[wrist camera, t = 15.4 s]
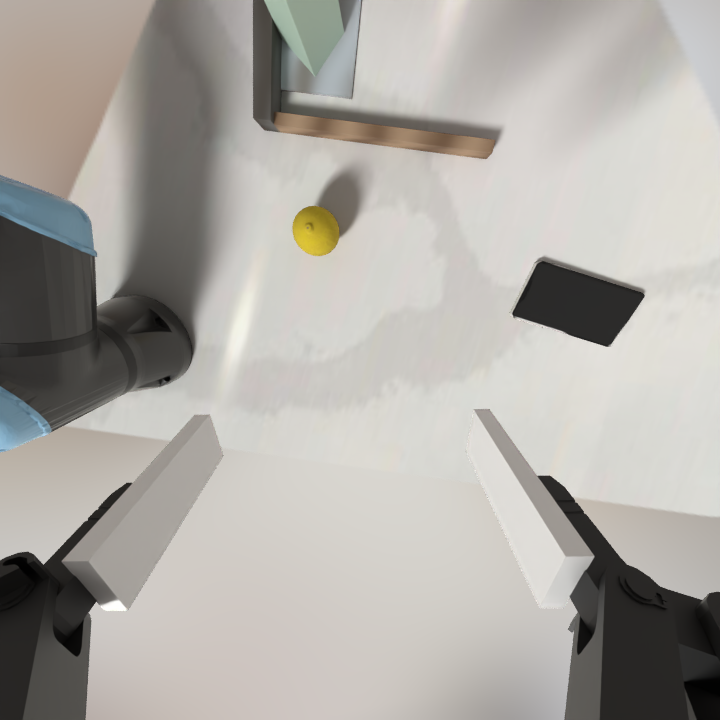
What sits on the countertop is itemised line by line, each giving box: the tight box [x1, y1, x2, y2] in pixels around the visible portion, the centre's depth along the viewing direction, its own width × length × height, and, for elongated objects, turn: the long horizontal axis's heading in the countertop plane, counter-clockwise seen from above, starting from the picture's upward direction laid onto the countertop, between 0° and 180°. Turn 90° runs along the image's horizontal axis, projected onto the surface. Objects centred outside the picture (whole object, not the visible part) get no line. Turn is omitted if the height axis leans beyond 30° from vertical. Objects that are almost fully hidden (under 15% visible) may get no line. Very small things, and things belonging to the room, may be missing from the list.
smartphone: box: [510, 261, 645, 347], centre depth 37 cm, size 8×1×15 cm
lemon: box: [293, 206, 339, 256], centre depth 33 cm, size 6×6×8 cm
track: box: [253, 0, 495, 159], centre depth 28 cm, size 28×18×3 cm, turn 82°
